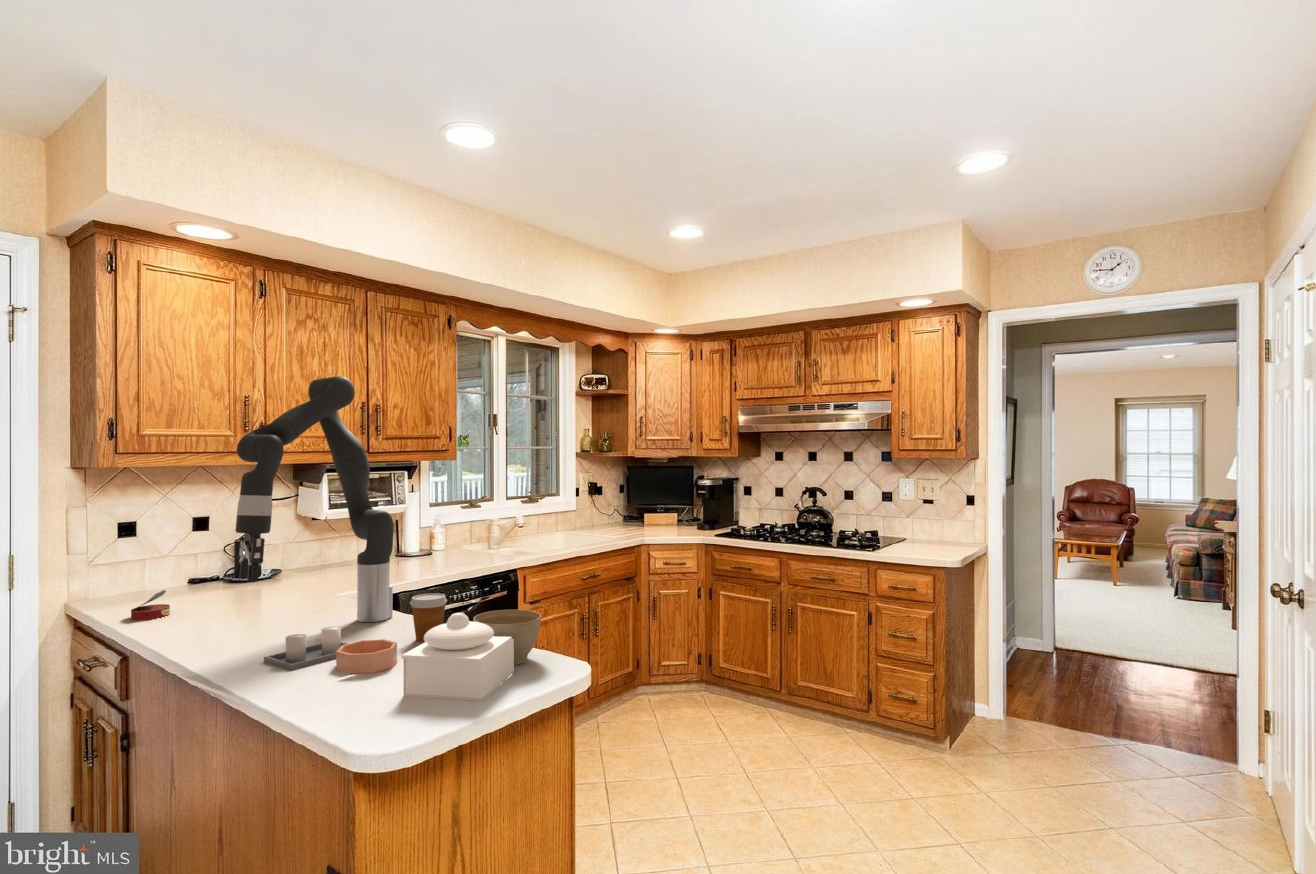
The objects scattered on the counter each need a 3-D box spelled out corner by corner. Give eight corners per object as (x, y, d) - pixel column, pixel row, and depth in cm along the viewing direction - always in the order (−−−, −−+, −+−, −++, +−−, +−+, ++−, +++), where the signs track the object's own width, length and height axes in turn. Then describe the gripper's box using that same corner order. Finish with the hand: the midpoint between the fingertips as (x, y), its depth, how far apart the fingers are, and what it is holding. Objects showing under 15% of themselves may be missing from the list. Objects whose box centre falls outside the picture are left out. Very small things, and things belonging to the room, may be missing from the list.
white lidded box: (513, 674, 160) (513, 605, 160) (480, 702, 142) (480, 624, 143) (442, 671, 163) (442, 602, 164) (401, 697, 145) (401, 621, 146)
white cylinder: (334, 648, 179) (334, 625, 179) (344, 651, 177) (344, 627, 177) (317, 653, 175) (317, 629, 176) (327, 655, 173) (327, 631, 173)
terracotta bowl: (375, 654, 176) (375, 636, 176) (408, 663, 169) (408, 644, 169) (325, 668, 165) (325, 649, 165) (358, 678, 158) (358, 658, 158)
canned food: (147, 636, 213) (131, 610, 209) (131, 628, 218) (115, 603, 214) (184, 612, 222) (169, 587, 217) (168, 605, 227) (153, 581, 222)
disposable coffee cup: (412, 648, 182) (412, 601, 182) (407, 639, 190) (407, 595, 190) (450, 643, 186) (450, 598, 186) (443, 635, 194) (443, 591, 195)
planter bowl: (538, 670, 163) (538, 623, 163) (467, 672, 161) (467, 625, 162) (543, 650, 179) (543, 608, 179) (479, 652, 177) (479, 609, 178)
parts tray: (334, 646, 183) (334, 640, 183) (361, 654, 176) (361, 647, 176) (263, 664, 168) (263, 657, 168) (290, 673, 161) (290, 665, 162)
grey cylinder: (299, 657, 172) (300, 633, 172) (309, 660, 169) (309, 635, 169) (281, 662, 168) (282, 637, 168) (291, 665, 166) (291, 639, 166)
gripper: (278, 514, 171) (272, 581, 169) (264, 514, 182) (258, 577, 180) (244, 513, 166) (237, 583, 164) (231, 513, 177) (224, 578, 175)
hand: (248, 580), depth 172 cm, fingers open, 8 cm apart
